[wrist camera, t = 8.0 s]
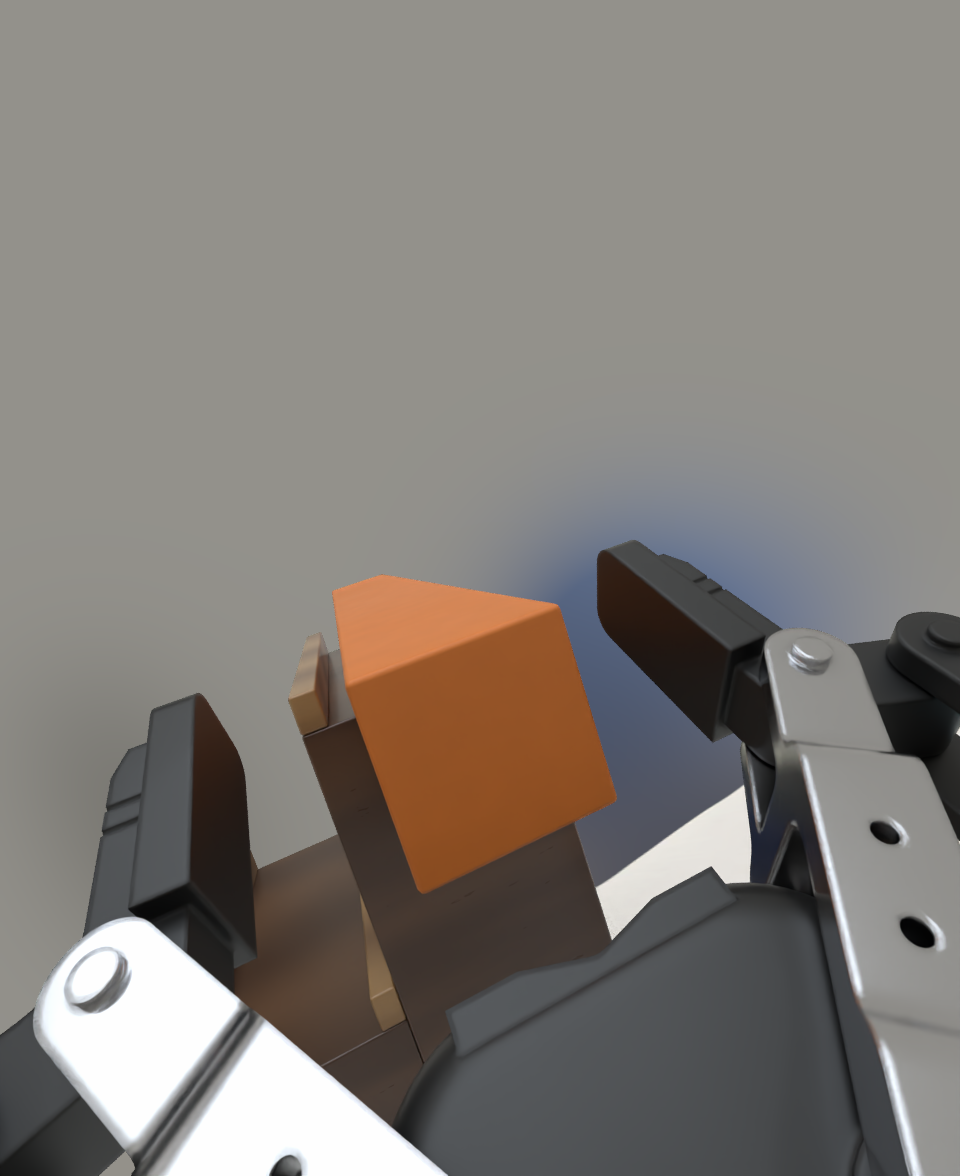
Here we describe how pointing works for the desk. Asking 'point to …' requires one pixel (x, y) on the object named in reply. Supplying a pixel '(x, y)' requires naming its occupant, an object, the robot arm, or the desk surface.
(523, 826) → the orange block
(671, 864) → the desk surface
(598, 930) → the display stand
